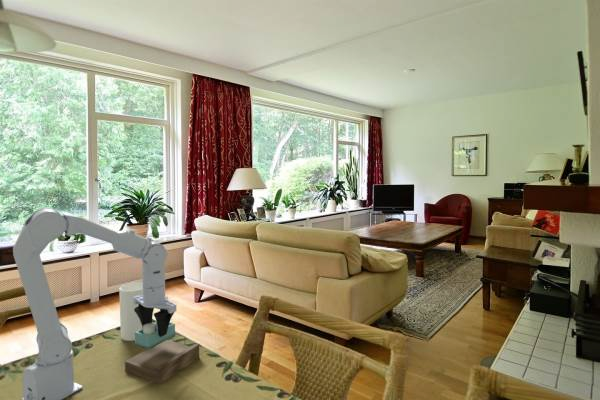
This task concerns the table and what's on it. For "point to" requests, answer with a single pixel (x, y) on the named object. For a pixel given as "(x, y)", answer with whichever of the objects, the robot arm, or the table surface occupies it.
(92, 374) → the table surface
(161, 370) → the brown flat block
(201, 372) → the table surface
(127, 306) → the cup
